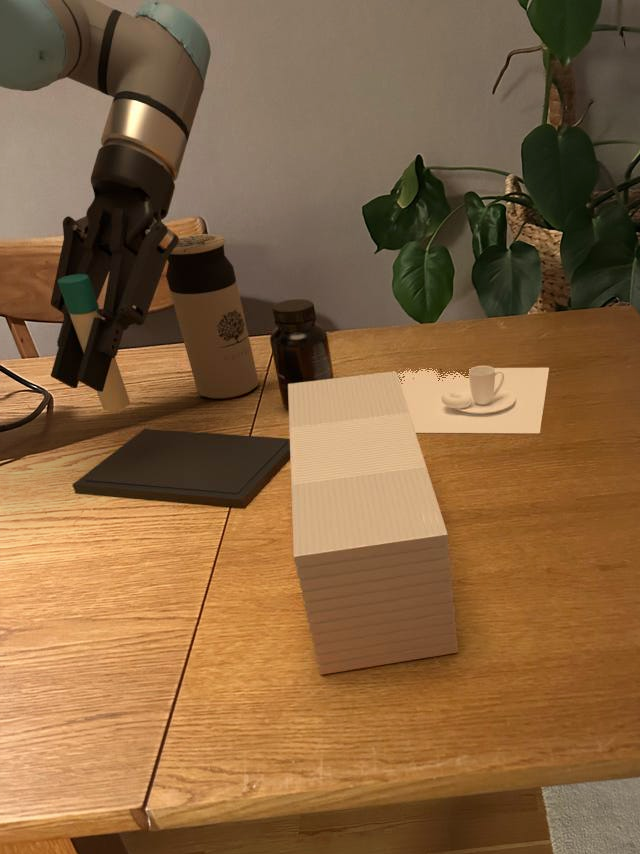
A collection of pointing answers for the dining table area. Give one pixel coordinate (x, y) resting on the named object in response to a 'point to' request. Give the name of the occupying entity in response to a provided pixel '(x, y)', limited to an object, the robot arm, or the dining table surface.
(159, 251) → the robot arm
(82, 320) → the marker
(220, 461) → the black cutting board
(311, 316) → the supplement bottle
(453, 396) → the teacup and saucer
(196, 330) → the travel mug
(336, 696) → the dining table surface
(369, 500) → the stack of papers
